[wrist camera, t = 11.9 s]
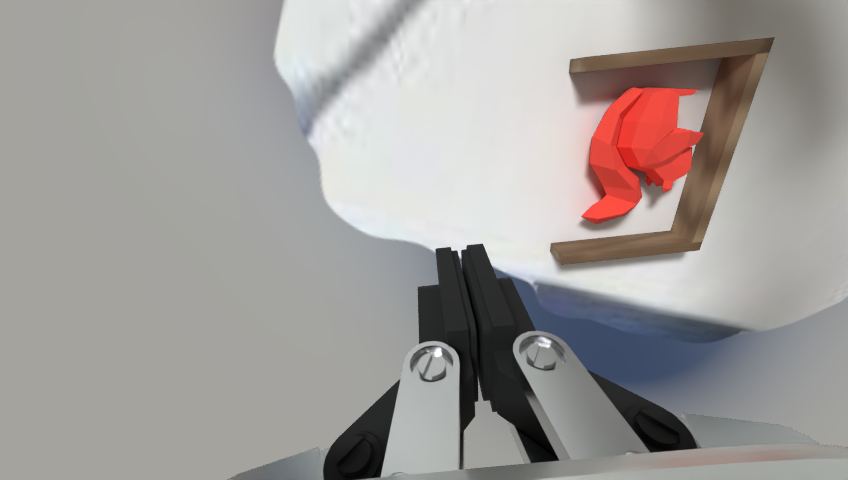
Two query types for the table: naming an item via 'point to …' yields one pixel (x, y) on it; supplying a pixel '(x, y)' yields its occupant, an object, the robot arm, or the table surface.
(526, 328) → the robot arm
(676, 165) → the animal figurine
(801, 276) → the table surface
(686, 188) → the frame
